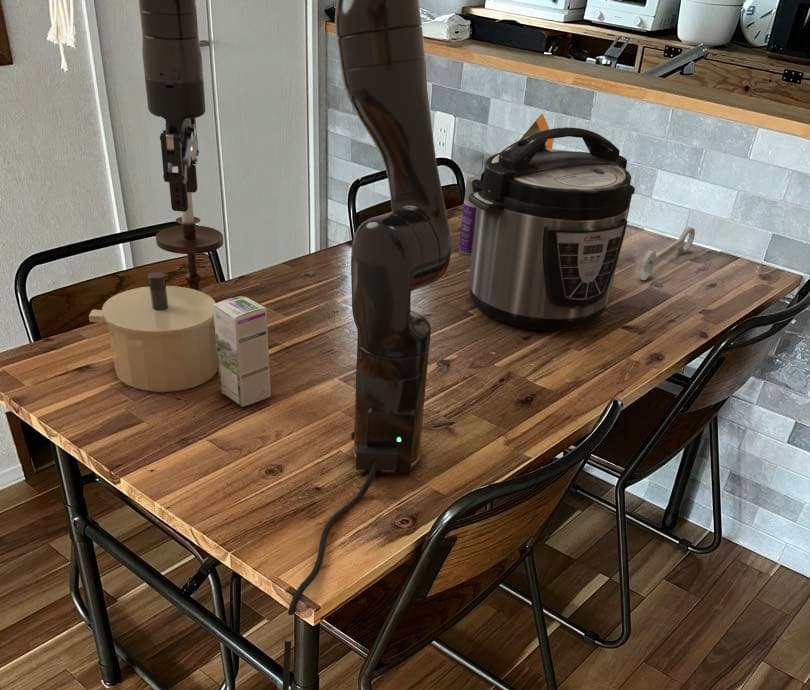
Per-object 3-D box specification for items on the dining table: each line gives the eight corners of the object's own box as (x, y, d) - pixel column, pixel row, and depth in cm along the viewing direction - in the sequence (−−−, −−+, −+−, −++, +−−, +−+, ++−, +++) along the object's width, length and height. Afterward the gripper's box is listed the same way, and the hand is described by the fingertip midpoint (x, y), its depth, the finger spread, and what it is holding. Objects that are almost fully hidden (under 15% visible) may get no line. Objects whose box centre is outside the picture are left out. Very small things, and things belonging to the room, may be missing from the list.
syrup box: (272, 396, 129) (269, 306, 120) (240, 408, 125) (234, 316, 116) (250, 382, 132) (245, 293, 123) (218, 393, 128) (211, 302, 119)
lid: (210, 341, 122) (206, 300, 118) (91, 336, 121) (83, 295, 117) (223, 295, 135) (220, 257, 131) (116, 290, 134) (110, 251, 130)
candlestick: (179, 336, 143) (154, 109, 121) (156, 311, 150) (129, 93, 128) (238, 324, 148) (225, 104, 126) (213, 301, 155) (196, 89, 133)
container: (456, 253, 183) (464, 180, 173) (461, 246, 186) (469, 175, 177) (477, 256, 182) (486, 184, 173) (482, 249, 185) (491, 178, 176)
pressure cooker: (453, 330, 152) (474, 140, 132) (460, 272, 174) (479, 103, 154) (620, 347, 151) (666, 159, 131) (606, 287, 173) (643, 118, 153)
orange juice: (507, 204, 213) (519, 117, 200) (515, 194, 219) (527, 110, 207) (538, 209, 211) (551, 122, 199) (544, 199, 218) (558, 115, 205)
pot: (229, 394, 128) (224, 336, 123) (87, 389, 127) (76, 330, 121) (239, 348, 141) (236, 293, 135) (110, 343, 139) (101, 287, 133)
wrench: (644, 284, 176) (652, 256, 172) (635, 282, 176) (642, 253, 173) (690, 250, 194) (698, 224, 190) (681, 248, 195) (689, 222, 191)
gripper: (155, 62, 116) (167, 184, 126) (133, 83, 105) (148, 215, 115) (210, 66, 117) (218, 187, 127) (194, 87, 106) (204, 218, 116)
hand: (185, 200), depth 121 cm, fingers open, 8 cm apart
